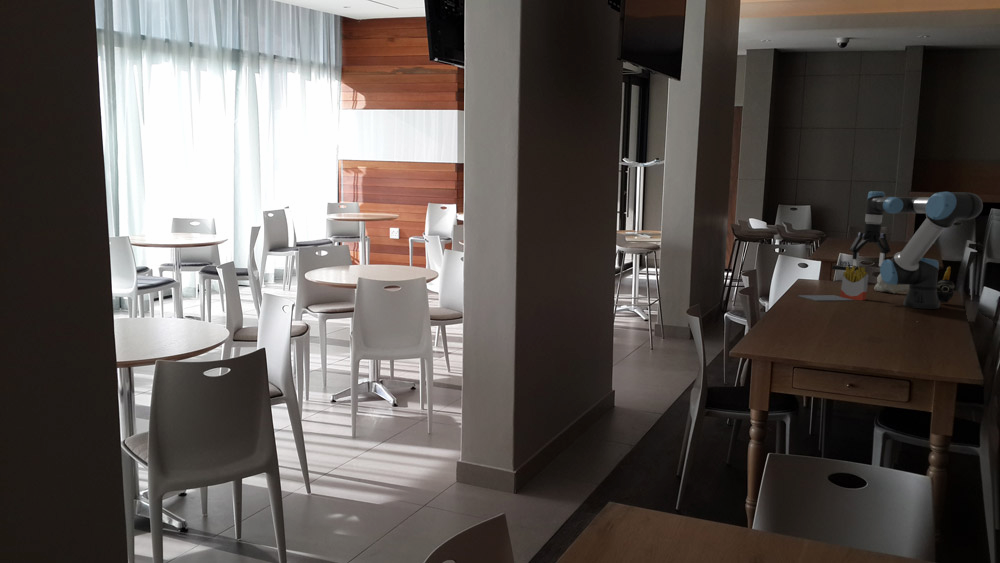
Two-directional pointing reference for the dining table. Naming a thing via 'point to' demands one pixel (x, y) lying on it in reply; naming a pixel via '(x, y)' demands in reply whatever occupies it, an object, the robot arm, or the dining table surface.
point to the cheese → (889, 286)
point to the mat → (825, 298)
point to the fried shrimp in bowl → (945, 287)
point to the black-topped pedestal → (843, 269)
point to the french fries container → (854, 284)
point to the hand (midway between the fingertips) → (868, 266)
